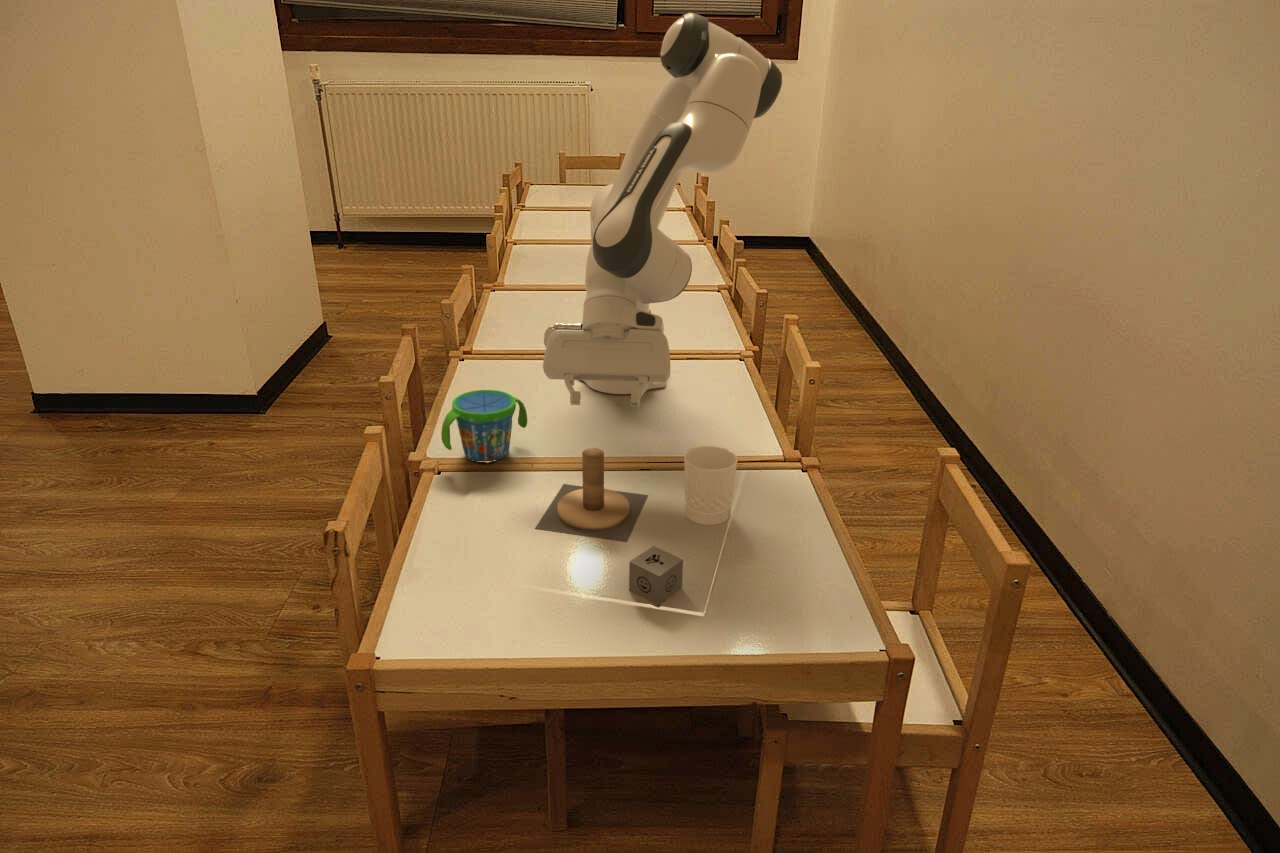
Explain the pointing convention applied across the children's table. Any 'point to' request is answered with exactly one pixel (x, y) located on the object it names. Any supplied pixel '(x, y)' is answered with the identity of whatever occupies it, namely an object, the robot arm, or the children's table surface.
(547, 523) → the mat
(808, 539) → the children's table surface
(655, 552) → the dice cube
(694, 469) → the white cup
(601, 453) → the lid
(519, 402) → the snack cup
